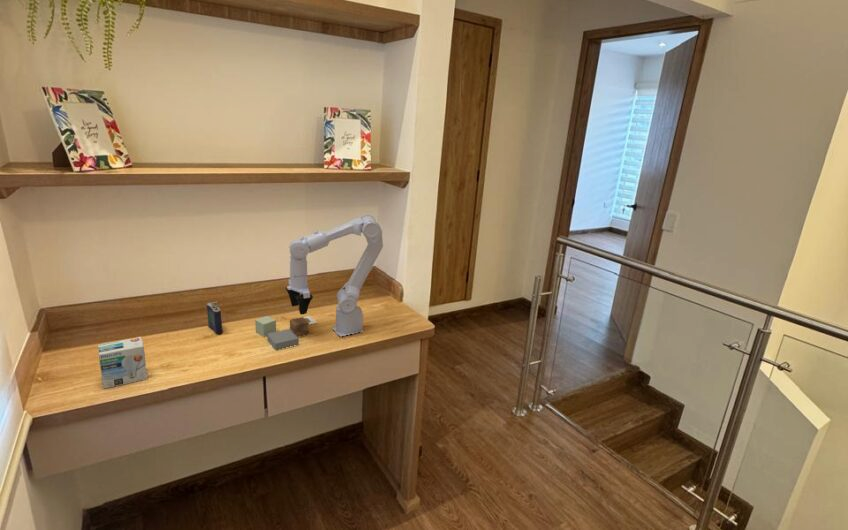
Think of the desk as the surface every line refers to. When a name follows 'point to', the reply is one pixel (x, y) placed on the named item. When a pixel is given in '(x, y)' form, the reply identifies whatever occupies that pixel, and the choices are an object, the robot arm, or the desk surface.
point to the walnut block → (299, 326)
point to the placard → (310, 320)
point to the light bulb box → (122, 362)
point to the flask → (214, 318)
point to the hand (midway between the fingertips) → (299, 309)
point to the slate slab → (282, 339)
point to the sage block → (265, 326)
